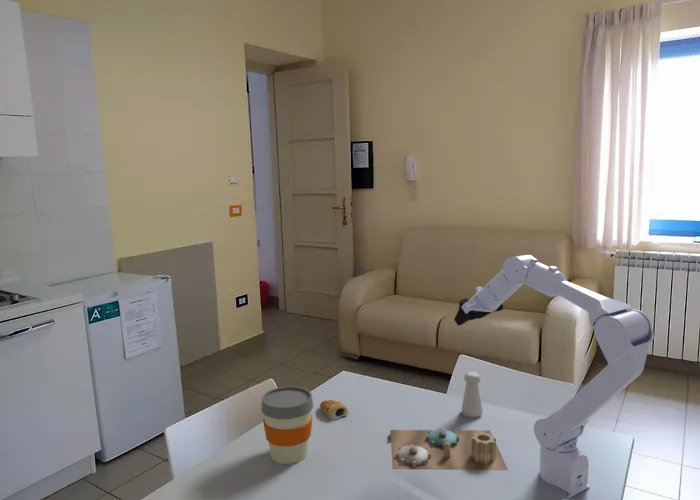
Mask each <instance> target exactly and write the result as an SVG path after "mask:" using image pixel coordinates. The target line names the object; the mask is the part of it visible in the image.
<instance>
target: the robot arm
mask: <svg viewBox="0 0 700 500" xmlns="http://www.w3.org/2000/svg"><path fill="white" fill-rule="evenodd" d="M566 278H567V277H566V276H565V274H564V273H563V272H561V271H560V270H559V268H558V267H557V266H556V265H555V266H554V265H550V266H548V265H546V264H544V263H542V262H540V261H539V260H538V258H535V257H534V256H533V255H531V254H523V255H516V256H515V255H514V256H512V257H511V256H510V257H508V258H506V260H504V263H503V265H502V269H501V270H499V272H498V273H497V274H495V276H494V277H493V278H492V279H491V280H489V281H488V283H486V284H485V285H484V286H477V287H475V292H476V293H475V294H473V296H472V297H471V298H470V299H468V298H463V299H461V300H460V301H459V303H458V305H459V306H458V310H457V313H456V314H455V317H454V319H453V320H454V322H455V323H456V325H457V326H458V327H459V326H462V325H464V324H466V323H467V322H469V321H473V320H476V319H478V320H479V319H482V318H485V317H487V316H488V315H490V314H492V313H495V312H500V311H502V310H504V305H503V303H504V302H505V301H506V300H507V299H508V298H510V297H511V296H512V295H513V294H514V293H515V292H516V291H518V290H519V289H520V288H521V286H523V285H526V286H528V287H530V288H532V289H534V290H536V291H538V292H539V293H542V294H544V295H545V296H548V297H549V298H554V297H556V296H560V297H561V298H563V299H564V300H566V301H568V302H570V303H572V304H573V305H575V306H577V307H579V308H580V309H582V310H583V311H585V312H587V313H588V321H589V325H590V327H592V326H594V327H593V331H594V332H593V333H594V336H595V338H596V339H595V340H596V341H597V344H598V345H599V347H600V349H601V352H602V353H603V356H604V358H605V359H606V362H607V365H606V366H605V367H604V368H603V369H602V370H601V371H600V372H598V373H597V374H596V375H595V376H594V377H593V378H592V379H591V380H590V381H589V382H588V383H587V384H586V385H584V386H583V388H581V389H580V390H579V391H578V392H576V394H575V395H574V396H573V397H572V398H570V400H568V401H567V402H566V404H564V405H563V406H562V407H560V408H558V409H557V410H556V411H554V412H552V413H551V414H550V415H548V416H547V417H544V418H543V417H542V418H539V419H537V420H536V421H535V423H534V424H533V433H534V436H535V438H536V440H537V441H538V444H539V445H540V448H539V450H540V451H539V452H540V453H539V473H538V474H539V477H540V478H541V479H542V480H543V481H544V482H546V483H547V484H551V485H552V486H554V487H555V486H556V487H558V488H560V489H562V490H563V491H564V492H566V493H567V494H566V495H565V496H564V497H563V498H564V499H565V500H567V499H570V498H572V497H574V496H576V495H578V494H579V493H581V492H583V491H585V490H587V489H589V488H590V484H588V483H589V482H588V480H589V477H588V476H589V458H588V457H587V455H585V454H584V453H583V452H581V451H580V449H578V446H577V443H578V437H581V436H582V435H583V432H584V429H585V426H586V425H587V424H588V423H589V422H590V420H589V419H591V418H592V417H593V416H594V415H596V413H598V412H599V410H601V409H602V408H603V407H604V406H606V405H607V404H608V403H609V402H611V400H612V399H614V398H615V397H616V396H617V395H618V394H619V393H621V392H622V391H623V390H624V389H625V388H626V387H628V386H629V385H630V384H631V383H632V382H634V381H635V380H636V379H637V378H638V377H640V375H641V374H642V373H643V371H644V368H645V364H646V360H647V355H648V352H649V347H650V345H651V343H652V342H653V340H654V338H655V334H654V330H653V325H652V322H651V319H650V318H649V317H648V315H647V314H646V313H645V312H643V311H641V310H639V309H634V308H632V306H631V305H629V304H628V303H626V302H623V301H620V300H616V299H612V298H610V297H608V296H605V295H602V294H600V293H598V292H595V291H592V290H590V289H588V288H586V287H584V286H580V285H577V284H575V283H573V282H570V281H567V279H566Z"/></svg>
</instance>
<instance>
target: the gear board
mask: <svg viewBox="0 0 700 500" xmlns="http://www.w3.org/2000/svg"><path fill="white" fill-rule="evenodd" d="M389 432H390V433H389V434H390V436H389V437H390V444H391V460H392V469H393V470H461V471H462V470H464V471H465V470H471V471H472V470H476V471H477V470H478V471H479V470H480V471H481V470H483V471H484V470H485V471H486V470H487V471H488V470H490V471H491V470H492V471H494V470H495V471H500V470H501V471H508V470H509V468H508V467H507V465H506V463H505V462H506V461H504V458H503V456H502V454H501V451H500V449H499V447H498V445H497V444H496V451H495V458H494V462H493V463H492V462H489V463H487V464H484V463H481V462H475V459H474V458H471V437H473V434H474V433H479V432H483V433H486V434H488V433H490V434H492V432H491V430H487V429H486V430H484V429H483V430H480V429H479V430H474V429H473V430H472V429H469V430H468V429H461V430H460V429H459V430H457V429H456V430H455V429H450V430H449V429H448V430H447V429H443V428H442V427H440V428H438V429H390V431H389Z"/></svg>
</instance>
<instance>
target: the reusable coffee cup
mask: <svg viewBox="0 0 700 500" xmlns="http://www.w3.org/2000/svg"><path fill="white" fill-rule="evenodd" d="M313 408H314V402H313V395H312V392H311V391H310V390H309V389H307V388H305V387H300V386H290V385H289V386H281V387H276V388H273V389H270V390H268V391H267V392H266V393H264V394H263V395H262V398H261V413H262V414H263V418H262V419H263V420H262V421H263V422H262V424H263V428H264V434H265V439H266V441H267V442H268V446H269V447H268V448H269V452H270V457H271V459H272V460H273V461H274V462H275V463H278V464H283V465H292V464H296V463H298V462H301V461H303V460H304V459H306V457H307V456H308V452H309V451H308V450H309V439H310V437H311V435H312V429H313V428H312V425H313V413H312V411H313Z"/></svg>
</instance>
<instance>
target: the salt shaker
mask: <svg viewBox="0 0 700 500" xmlns="http://www.w3.org/2000/svg"><path fill="white" fill-rule="evenodd" d="M463 377H464V381H465V383H466V384H465V388H464V389H465V390H464V394H463V399H462V404H461V413H462V414H463V416H465V417H466V418H471V419H472V418H473V419H476V418H479V417H481V416H482V415H483V410H484V409H483V406H482V404H483V403H482V398H481V394H480V389H479V388H480V387H479V383H480V382H481V375H480V374H479V373H478V372H476V371H468V372H466V373H465V374H464V376H463Z"/></svg>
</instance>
